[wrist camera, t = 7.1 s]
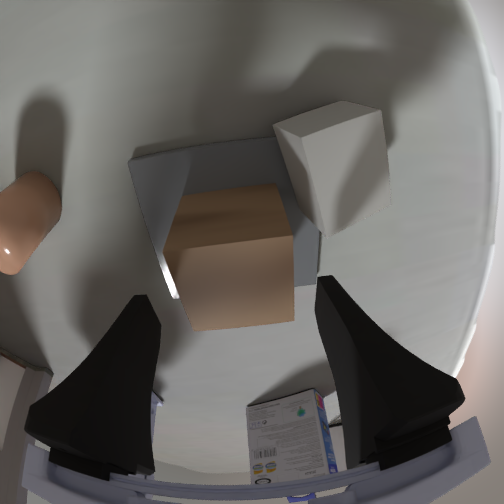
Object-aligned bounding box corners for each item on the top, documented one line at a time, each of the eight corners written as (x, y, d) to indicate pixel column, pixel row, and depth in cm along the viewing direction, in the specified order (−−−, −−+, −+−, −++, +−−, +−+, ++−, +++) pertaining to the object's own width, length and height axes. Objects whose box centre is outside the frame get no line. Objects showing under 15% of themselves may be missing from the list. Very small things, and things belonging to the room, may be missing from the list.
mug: (362, 422, 45) (372, 465, 36) (329, 436, 49) (336, 476, 40) (330, 419, 40) (340, 471, 32) (294, 434, 44) (300, 481, 36)
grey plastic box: (358, 182, 15) (391, 204, 13) (299, 209, 15) (326, 238, 13) (342, 100, 12) (380, 109, 10) (272, 124, 12) (300, 138, 9)
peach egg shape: (70, 223, 15) (34, 272, 11) (30, 232, 15) (-5, 276, 11) (48, 163, 13) (-1, 201, 9) (8, 180, 13) (-36, 218, 9)
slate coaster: (313, 278, 19) (315, 284, 19) (174, 292, 19) (172, 298, 19) (317, 134, 13) (321, 137, 13) (131, 158, 13) (127, 162, 13)
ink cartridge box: (262, 416, 36) (269, 504, 24) (243, 406, 33) (248, 506, 21) (325, 398, 33) (343, 493, 22) (313, 386, 30) (332, 496, 19)
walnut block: (280, 257, 17) (294, 320, 13) (201, 267, 17) (193, 331, 13) (275, 182, 14) (292, 235, 10) (181, 195, 14) (162, 252, 10)
